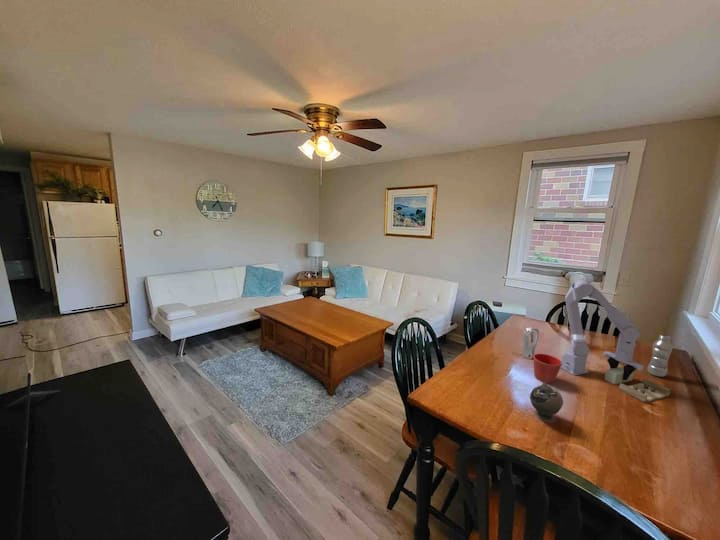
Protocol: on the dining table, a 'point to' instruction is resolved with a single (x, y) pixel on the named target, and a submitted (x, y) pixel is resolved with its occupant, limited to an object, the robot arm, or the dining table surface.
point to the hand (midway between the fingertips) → (619, 377)
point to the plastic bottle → (660, 356)
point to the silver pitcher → (529, 342)
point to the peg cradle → (645, 390)
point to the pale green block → (617, 375)
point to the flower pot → (546, 367)
